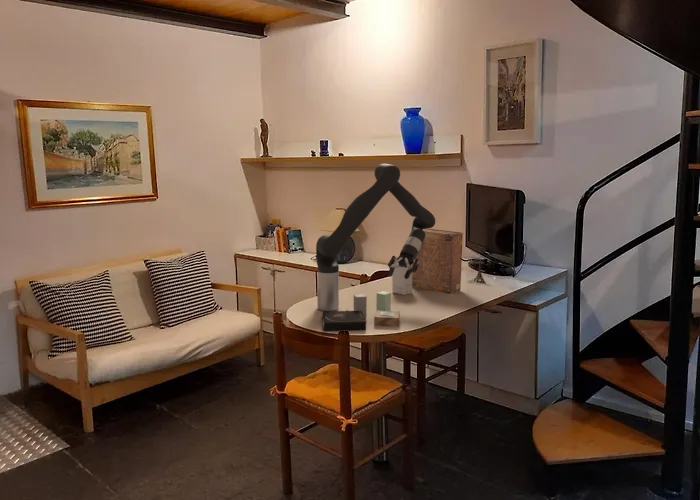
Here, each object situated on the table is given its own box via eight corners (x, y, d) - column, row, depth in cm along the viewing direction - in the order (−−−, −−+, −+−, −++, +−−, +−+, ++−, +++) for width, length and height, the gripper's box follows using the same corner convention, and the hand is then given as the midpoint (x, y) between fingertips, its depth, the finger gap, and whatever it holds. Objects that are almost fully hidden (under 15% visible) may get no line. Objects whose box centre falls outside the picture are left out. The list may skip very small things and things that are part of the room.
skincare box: (412, 293, 301) (413, 262, 299) (404, 295, 296) (405, 264, 294) (399, 290, 307) (399, 260, 304) (391, 292, 302) (391, 262, 299)
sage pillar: (384, 314, 263) (385, 294, 261) (376, 312, 266) (376, 293, 264) (390, 312, 266) (390, 292, 265) (382, 310, 269) (382, 291, 268)
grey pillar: (356, 317, 258) (356, 297, 257) (353, 314, 263) (353, 294, 261) (366, 316, 259) (366, 296, 258) (363, 313, 264) (363, 294, 262)
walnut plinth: (374, 326, 247) (374, 316, 246) (376, 319, 257) (376, 309, 256) (398, 327, 246) (398, 317, 245) (399, 320, 255) (399, 310, 255)
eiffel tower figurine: (475, 278, 337) (476, 255, 335) (492, 281, 331) (493, 257, 329) (464, 283, 325) (464, 259, 323) (481, 286, 319) (482, 261, 317)
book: (409, 285, 317) (411, 229, 312) (420, 283, 324) (421, 227, 319) (450, 293, 300) (452, 234, 295) (460, 290, 307) (462, 232, 302)
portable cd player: (321, 320, 255) (321, 311, 254) (361, 319, 257) (361, 310, 256) (323, 332, 239) (323, 322, 238) (365, 331, 241) (366, 321, 240)
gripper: (395, 242, 281) (381, 270, 274) (421, 245, 273) (407, 274, 265) (401, 251, 286) (387, 279, 279) (427, 255, 278) (413, 283, 271)
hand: (397, 276), depth 272 cm, fingers open, 8 cm apart
